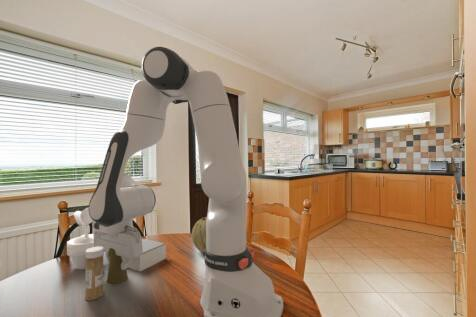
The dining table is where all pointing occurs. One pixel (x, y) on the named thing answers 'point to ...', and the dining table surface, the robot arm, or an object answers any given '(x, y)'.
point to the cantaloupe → (199, 234)
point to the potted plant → (81, 240)
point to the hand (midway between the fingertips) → (117, 266)
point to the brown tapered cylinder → (115, 269)
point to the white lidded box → (148, 255)
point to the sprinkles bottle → (94, 273)
